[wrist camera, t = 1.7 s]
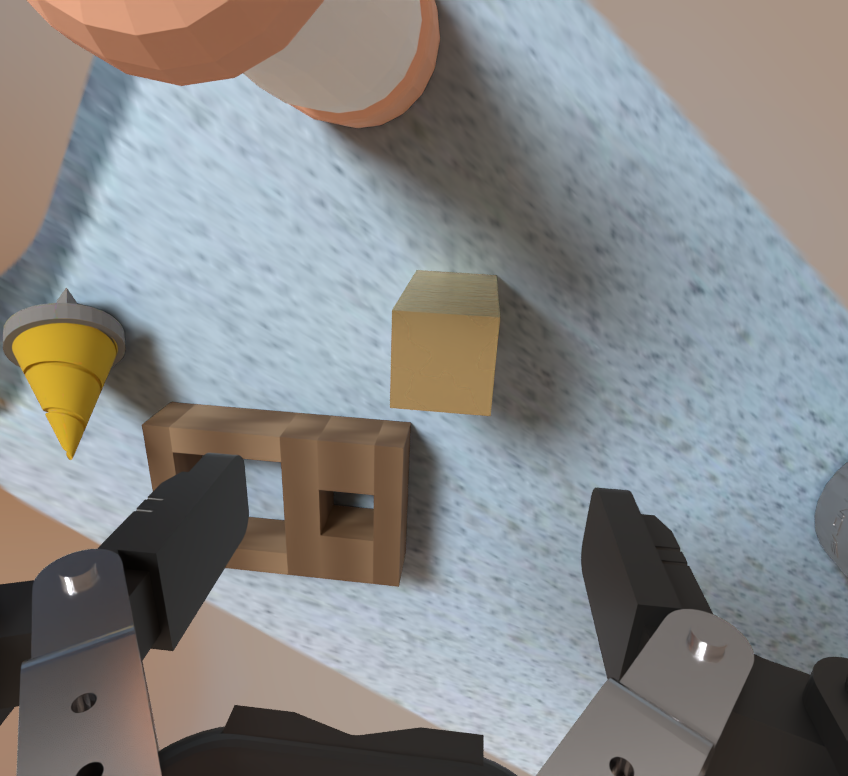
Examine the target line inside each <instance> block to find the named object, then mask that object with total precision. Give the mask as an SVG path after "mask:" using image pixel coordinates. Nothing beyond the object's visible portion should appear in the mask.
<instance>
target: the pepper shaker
mask: <svg viewBox="0 0 848 776" xmlns="http://www.w3.org/2000/svg"><path fill="white" fill-rule="evenodd" d="M27 1H28V2H29V3H30V4H31V5H32V6H33V7H34V8H35V9H36V11H37V12H38V13H39V14H40V15H41V16H42V17H43V18H44V19H45V20H46V21H47V22H48V23H49V24H50V25H51V26H52V27H53V28H55V29H56V30H57V31H59V32H60V33H61V34H63V35H64V36H66V37H67V38H68V39H70V40H71V41H72V42H74V43H75V44H77V45H79V46H80V47H82V48H84V49H86V50H87V51H89V52H91V53H92V54H94V55H95V56H97V57H99V58H101V59H102V60H104V61H106V62H107V63H109V64H111V65H112V66H114V67H116V68H117V69H119V70H121V71H122V72H124V73H126V74H129V75H134V76H138V77H143V78H148V79H152V80H157V81H161V82H166V83H170V84H175V85H180V86H184V85H190V84H197V83H204V82H210V81H217V80H223V79H230V78H235V77H237V76H239V75H240V74H242V73H243V74H245V75H246V76H247V77H248V78H249V79H250V80H252V81H253V82H254V83H255V84H256V85H257V86H259V87H260V88H262V89H263V90H265V91H267V92H268V93H270V94H272V95H273V96H275V97H277V98H278V99H280V100H282V101H283V102H285V103H287V104H290V105H291V106H293V107H295V108H296V109H298V110H300V111H301V112H303V113H305V114H306V115H308V116H310V117H311V118H313V119H316V120H321V121H325V122H330V123H335V124H339V125H344V126H348V127H353V128H364V127H371V126H379V125H383V124H385V123H387V122H388V121H390V120H392V119H394V118H396V117H398V116H400V115H402V114H404V113H405V112H406V111H407V110H408V109H409V107H410V106H411V105H412V104H413V103H414V102H415V101H416V100H417V99H418V98H419V97H420V96H421V95H422V93H423V91H424V89H425V87H426V85H427V83H428V81H429V79H430V77H431V75H432V73H433V71H434V69H435V64H436V59H437V53H438V48H439V42H440V33H439V22H438V11H437V6H436V3H435V0H27Z"/></svg>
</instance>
